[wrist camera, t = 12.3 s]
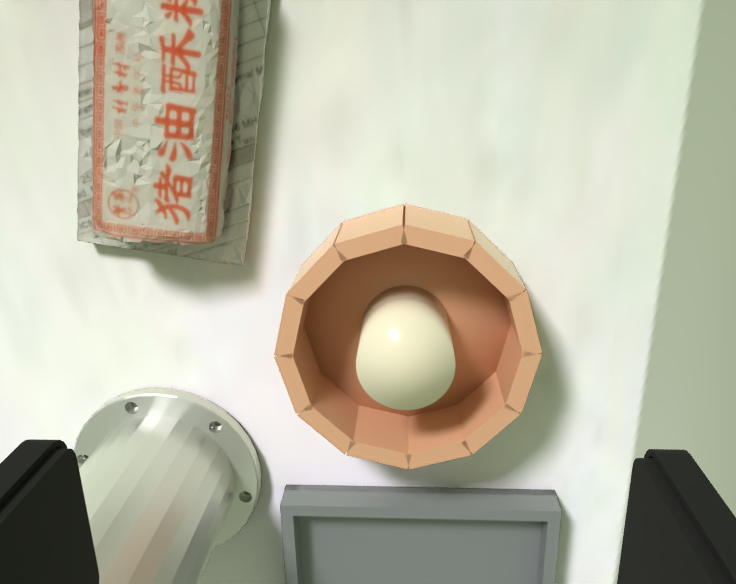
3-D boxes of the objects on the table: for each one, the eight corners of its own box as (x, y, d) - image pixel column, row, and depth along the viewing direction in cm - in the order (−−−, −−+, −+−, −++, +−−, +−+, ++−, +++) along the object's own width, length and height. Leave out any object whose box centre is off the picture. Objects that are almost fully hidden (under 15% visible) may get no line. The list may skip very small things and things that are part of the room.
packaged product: (42, -122, 29) (261, -86, 29) (91, -97, 34) (280, -66, 34) (47, 258, 35) (228, 288, 35) (88, 235, 40) (248, 262, 40)
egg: (406, 381, 41) (406, 427, 35) (345, 327, 40) (335, 366, 34) (467, 325, 39) (476, 365, 34) (404, 267, 38) (404, 299, 33)
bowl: (409, 459, 43) (409, 507, 39) (247, 322, 41) (226, 356, 36) (571, 318, 39) (593, 353, 35) (403, 157, 37) (402, 171, 32)
